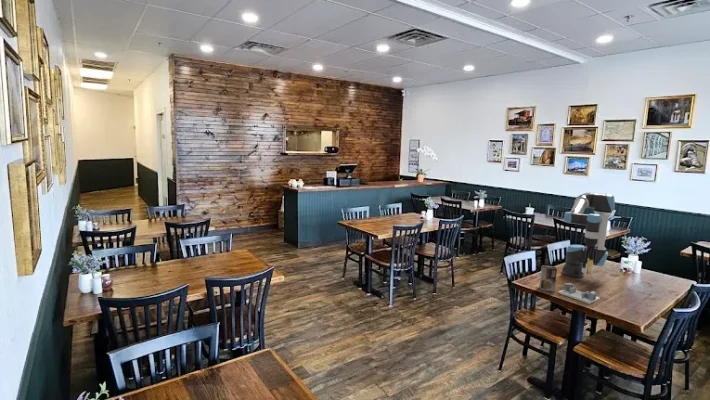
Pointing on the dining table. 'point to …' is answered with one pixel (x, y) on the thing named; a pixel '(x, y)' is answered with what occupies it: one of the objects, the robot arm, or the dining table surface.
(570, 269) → the robot arm
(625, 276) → the dining table surface
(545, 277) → the coffee box
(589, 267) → the coupler
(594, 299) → the shaft bench
